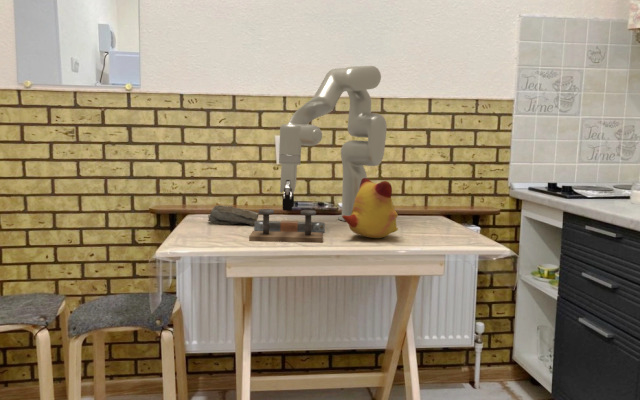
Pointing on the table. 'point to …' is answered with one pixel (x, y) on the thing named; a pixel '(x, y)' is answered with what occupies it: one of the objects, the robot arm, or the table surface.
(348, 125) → the robot arm
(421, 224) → the table surface
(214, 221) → the rock
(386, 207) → the toy
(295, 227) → the two-ball handle bar
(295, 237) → the rack
